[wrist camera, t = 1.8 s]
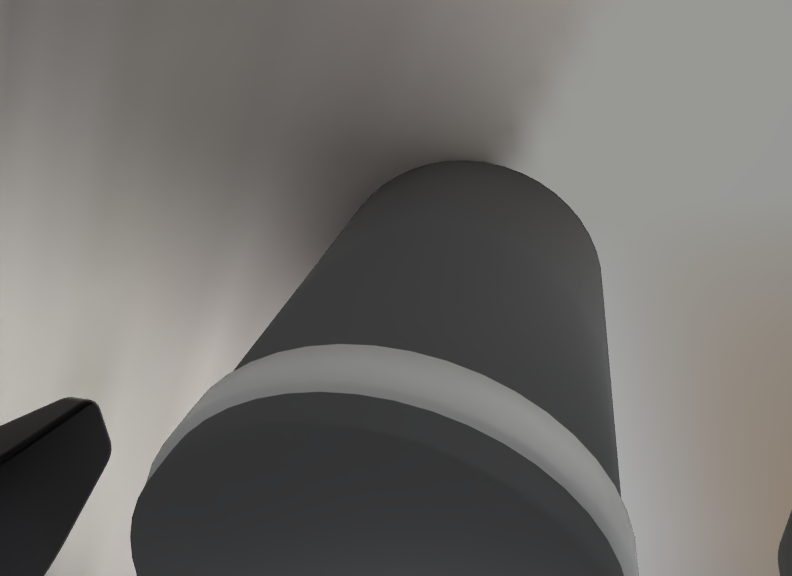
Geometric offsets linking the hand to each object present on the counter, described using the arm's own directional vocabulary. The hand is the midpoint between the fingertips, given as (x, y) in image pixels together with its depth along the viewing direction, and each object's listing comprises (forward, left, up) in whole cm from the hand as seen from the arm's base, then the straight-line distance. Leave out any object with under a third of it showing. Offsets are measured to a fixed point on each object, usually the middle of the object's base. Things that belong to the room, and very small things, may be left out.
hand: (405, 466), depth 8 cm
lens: (0, 0, -5) cm, 5 cm away
